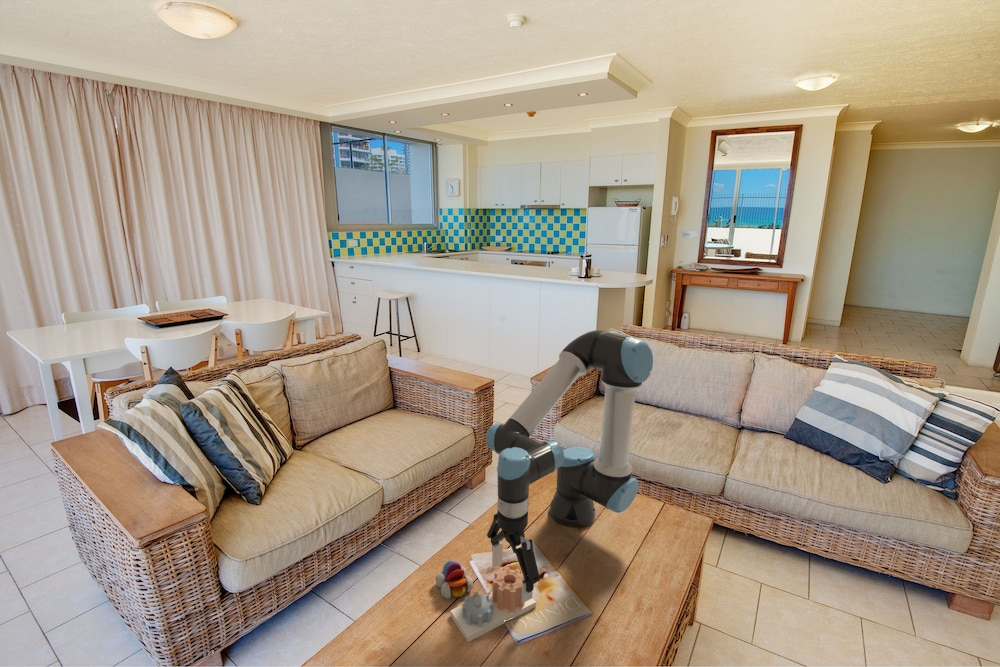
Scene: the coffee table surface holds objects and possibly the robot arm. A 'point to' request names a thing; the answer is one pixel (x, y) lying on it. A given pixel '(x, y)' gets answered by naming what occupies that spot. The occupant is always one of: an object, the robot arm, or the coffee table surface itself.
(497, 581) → the gear
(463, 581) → the white-domed colorful disc toy
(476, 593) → the gear board
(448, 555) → the coffee table surface
